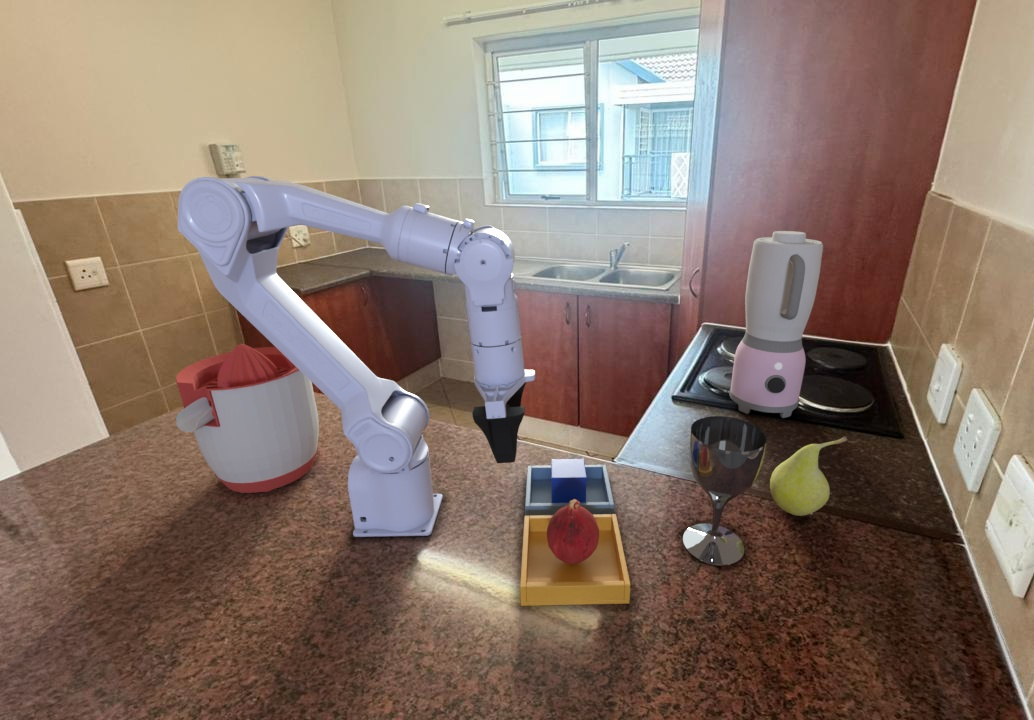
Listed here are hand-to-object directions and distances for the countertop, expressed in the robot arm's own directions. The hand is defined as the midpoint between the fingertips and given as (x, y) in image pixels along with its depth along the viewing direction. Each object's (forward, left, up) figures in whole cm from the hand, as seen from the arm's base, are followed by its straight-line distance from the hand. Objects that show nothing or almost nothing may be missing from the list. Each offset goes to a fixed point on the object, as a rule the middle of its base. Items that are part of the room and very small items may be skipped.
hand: (508, 444), depth 61 cm
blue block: (+7, +3, -10) cm, 13 cm away
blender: (+45, +30, -11) cm, 56 cm away
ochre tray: (+7, -9, -10) cm, 16 cm away
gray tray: (+7, +3, -10) cm, 13 cm away
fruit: (+37, 0, -11) cm, 39 cm away
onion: (+7, -9, -10) cm, 15 cm away
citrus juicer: (-37, +10, -11) cm, 39 cm away
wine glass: (+24, -6, -11) cm, 27 cm away
